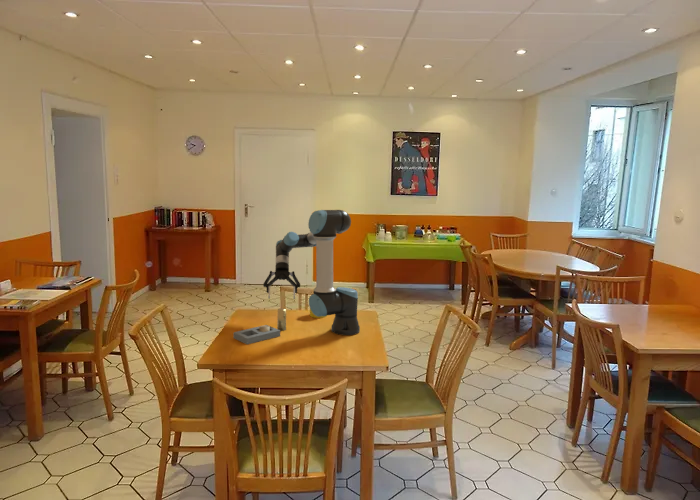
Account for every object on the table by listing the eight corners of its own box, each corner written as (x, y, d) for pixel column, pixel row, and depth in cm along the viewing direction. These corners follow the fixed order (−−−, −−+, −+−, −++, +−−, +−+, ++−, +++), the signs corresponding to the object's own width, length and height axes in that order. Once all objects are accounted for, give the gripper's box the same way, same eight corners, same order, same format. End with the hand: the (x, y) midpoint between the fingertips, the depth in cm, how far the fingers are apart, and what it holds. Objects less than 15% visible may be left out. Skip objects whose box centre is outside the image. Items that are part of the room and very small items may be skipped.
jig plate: (280, 336, 259) (280, 330, 258) (247, 344, 245) (247, 338, 244) (266, 330, 267) (266, 324, 267) (233, 338, 253) (233, 332, 253)
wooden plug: (271, 335, 259) (271, 327, 258) (263, 337, 255) (263, 329, 255) (265, 332, 263) (265, 324, 262) (257, 334, 259) (257, 326, 258)
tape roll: (317, 312, 304) (317, 296, 303) (330, 315, 299) (330, 299, 297) (306, 315, 296) (306, 300, 295) (319, 319, 291) (320, 303, 289)
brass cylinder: (287, 329, 269) (288, 309, 268) (280, 331, 266) (281, 311, 264) (282, 327, 272) (282, 307, 271) (275, 329, 269) (275, 309, 268)
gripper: (303, 268, 293) (304, 301, 281) (260, 268, 289) (258, 300, 278) (304, 261, 287) (305, 294, 275) (259, 260, 283) (258, 294, 271)
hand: (281, 297), depth 276 cm, fingers open, 13 cm apart
